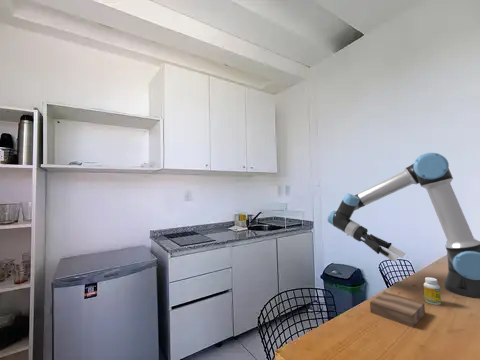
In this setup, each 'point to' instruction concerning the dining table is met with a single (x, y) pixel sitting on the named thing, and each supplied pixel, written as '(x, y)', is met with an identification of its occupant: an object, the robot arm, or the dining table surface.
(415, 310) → the walnut riser
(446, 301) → the dining table surface
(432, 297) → the supplement bottle
